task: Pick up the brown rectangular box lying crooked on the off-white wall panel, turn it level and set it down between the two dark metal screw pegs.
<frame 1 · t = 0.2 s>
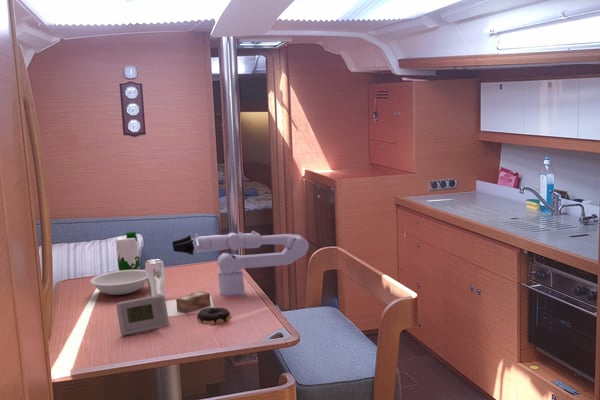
hand: (173, 246, 255), 21 cm above the table, tool horizontal, fingers open, 7 cm apart
milk carton: (130, 278, 300), on the table
digital clock: (144, 331, 227), on the table
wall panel: (182, 309, 248), on the table
brown rectangular box: (194, 308, 245), point 1 cm above the table, touching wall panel
donut: (214, 322, 232), on the table
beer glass: (157, 299, 263), on the table
soup bowl: (122, 293, 276), on the table
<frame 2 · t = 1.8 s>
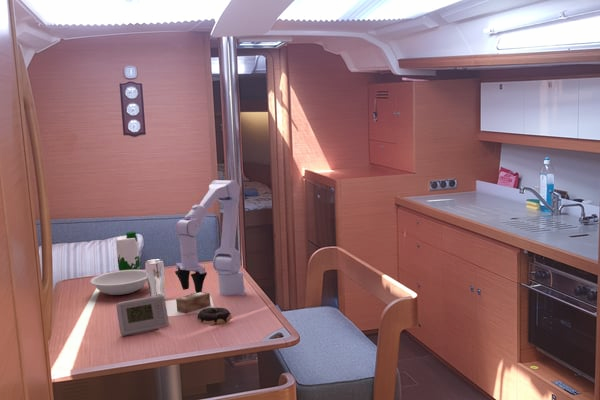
hand: (192, 290, 244), 7 cm above the table, tool pointing down, fingers open, 7 cm apart
nothing on the table moved.
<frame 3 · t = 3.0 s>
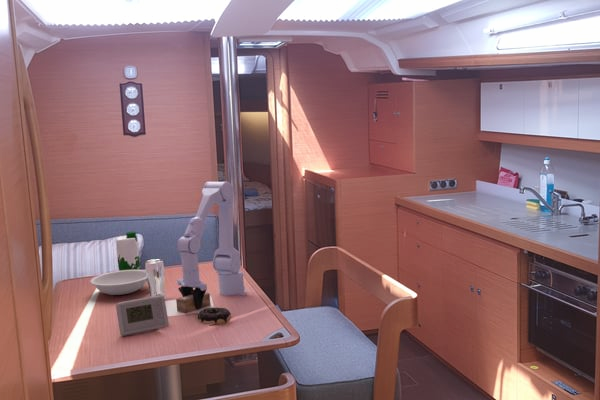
hand: (193, 306, 245), 2 cm above the table, tool pointing down, fingers closed on brown rectangular box, 5 cm apart
brown rectangular box: (194, 308, 245), point 1 cm above the table, touching gripper, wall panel
everything else where it was.
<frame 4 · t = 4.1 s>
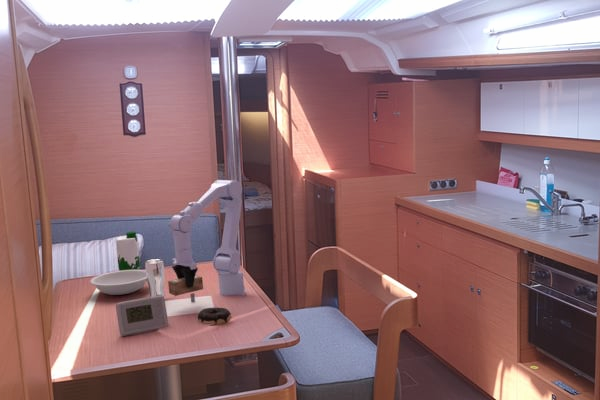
hand: (186, 285, 246), 9 cm above the table, tool pointing down, fingers closed on brown rectangular box, 5 cm apart
brown rectangular box: (186, 291, 246), point 7 cm above the table, touching gripper
everything else where it was.
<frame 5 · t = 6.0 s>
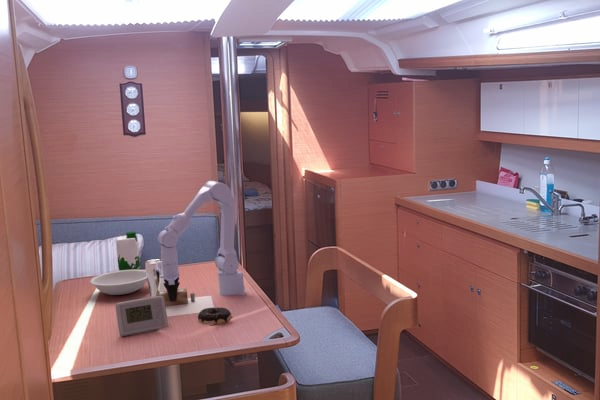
hand: (173, 299, 252), 3 cm above the table, tool pointing down, fingers closed on brown rectangular box, 5 cm apart
brown rectangular box: (172, 303, 252), point 1 cm above the table, touching gripper, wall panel
everything else where it was.
when the fingers open (3 cm above the table, at t = 6.4 s): brown rectangular box stays where it is, resting on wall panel.
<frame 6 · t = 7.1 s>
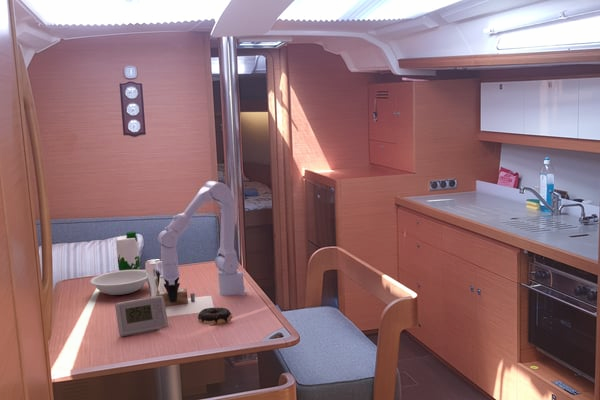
hand: (173, 299, 252), 3 cm above the table, tool pointing down, fingers open, 7 cm apart
brown rectangular box: (172, 303, 252), point 1 cm above the table, touching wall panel
everything else where it was.
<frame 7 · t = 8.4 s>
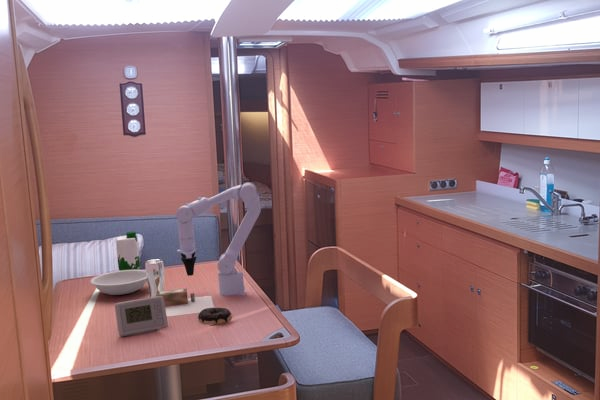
hand: (189, 272, 260), 10 cm above the table, tool pointing down, fingers open, 7 cm apart
nothing on the table moved.
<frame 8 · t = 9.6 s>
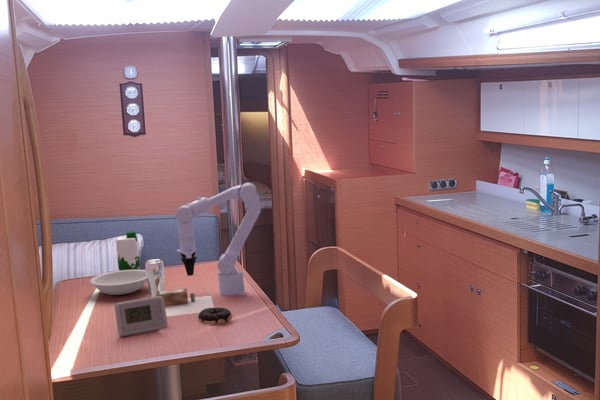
hand: (189, 272, 260), 10 cm above the table, tool pointing down, fingers open, 7 cm apart
nothing on the table moved.
at the end: brown rectangular box 0.4 cm from the target spot, point 1.0 cm above the table; brown rectangular box tilted 0°; the gripper is holding nothing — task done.
